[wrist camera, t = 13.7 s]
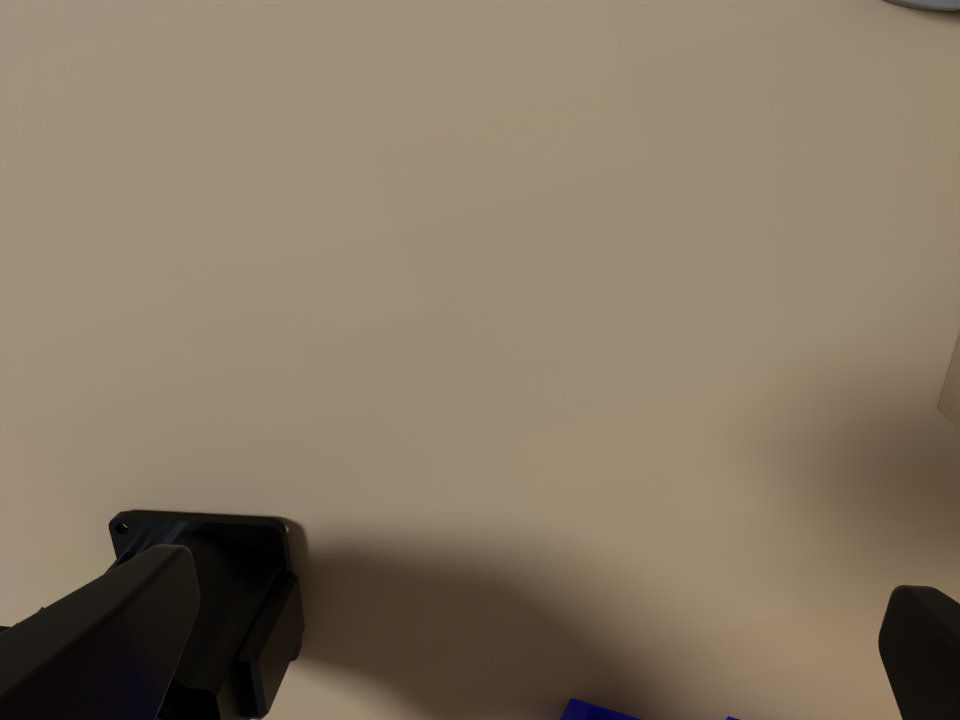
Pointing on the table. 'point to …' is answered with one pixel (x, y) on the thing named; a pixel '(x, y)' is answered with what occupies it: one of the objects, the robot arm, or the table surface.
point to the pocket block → (952, 389)
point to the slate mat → (929, 4)
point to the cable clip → (595, 712)
